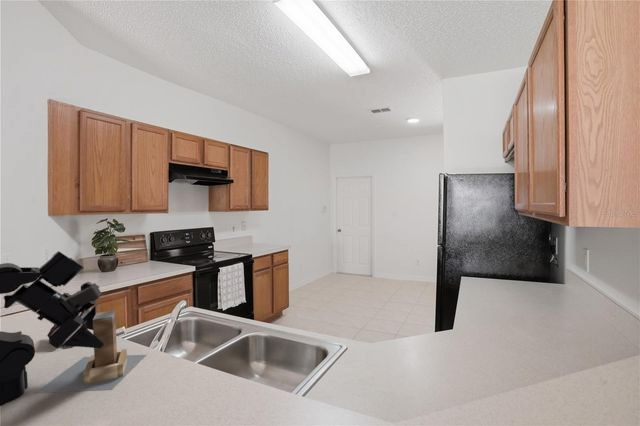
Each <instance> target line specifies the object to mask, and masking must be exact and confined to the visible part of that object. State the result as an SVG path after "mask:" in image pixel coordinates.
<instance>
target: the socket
mask: <svg viewBox="0 0 640 426" xmlns="http://www.w3.org/2000/svg"><path fill="white" fill-rule="evenodd" d="M127 355H128V352H127V348H123V349H117V363H116V364H111V365H106V366H101V367H97V368H95V359H94V354H93V355H92V354H91V356H89V357H90V359H89V361H88V363H87V366H86V368H85V370H84V372H83V376H84V385H86V384H90V383H95V382H99V381H103V380H108V379H112V378H117V377H121V376H124V371H125V366H126V362H127Z"/></svg>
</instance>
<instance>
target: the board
mask: <svg viewBox="0 0 640 426" xmlns="http://www.w3.org/2000/svg"><path fill="white" fill-rule="evenodd" d="M90 357H91V356H84V357H82V358H81V359H80V360H78V361H77V362H75V363H74V364H73V365H71V366H70V367H68V368H67V369H66V370H64V371H63V372H62V373H60V374H59V375H57V376H56V377H55V378H53V379H52V380H50V381H49V382H48V383H46V384H45V385H43V386H42V387H41V388H39V389H38V390H37V391H35V392H34V394H42V393H43V394H44V393H46V394H47V393H65V392H67V393H69V392H89V391H90V392H91V391H92V392H93V391H95V392H96V391H113V389H114V388H115V387H116V386H118V384H119V383H121V382H122V380H124V378H125V377H126V376H128V374H130V373H131V371H133V370H134V369H135V368H136V366H138V364H139V363H140V362H141V361H142V360H144V358H146V357H147V354H127V362H126V366H125V371H124V376H121V377H117V378H112V379H108V380H103V381H99V382H95V383H90V384H86V385H84V376H83V372H84V370H85V368H86V366H87V363H88V361H89V359H90Z"/></svg>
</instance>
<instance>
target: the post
mask: <svg viewBox="0 0 640 426" xmlns="http://www.w3.org/2000/svg"><path fill="white" fill-rule="evenodd" d="M116 325H117V324H116V310H107V311H102V312H97V313H96V315H95V316H94V318H93V330H92V332H93V333H92V334H93V335H95V336H96V337H97V338H98V339H99V340H100V341H101V342H102V343H103V344H104V345H103V346H102V347H101V348H93V353H94V354H93V355H94V359H95V368H97V367H101V366H106V365H111V364H116V363H117V350H118V348H117V346H118V345H117V326H116Z"/></svg>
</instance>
